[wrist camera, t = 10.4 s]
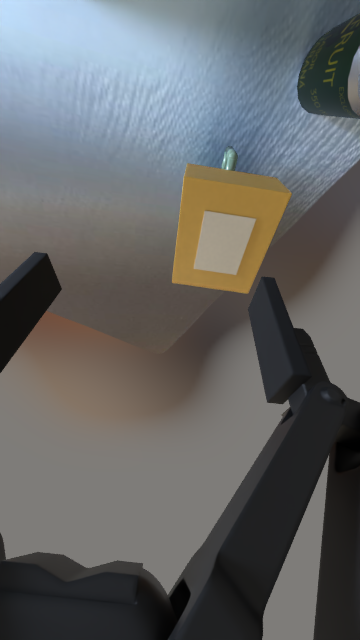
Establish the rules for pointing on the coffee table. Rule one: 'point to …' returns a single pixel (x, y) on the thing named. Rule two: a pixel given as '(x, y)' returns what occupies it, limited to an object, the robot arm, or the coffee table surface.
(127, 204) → the coffee table surface
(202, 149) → the coffee table surface
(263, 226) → the tea packet
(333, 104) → the beer can
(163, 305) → the coffee table surface
